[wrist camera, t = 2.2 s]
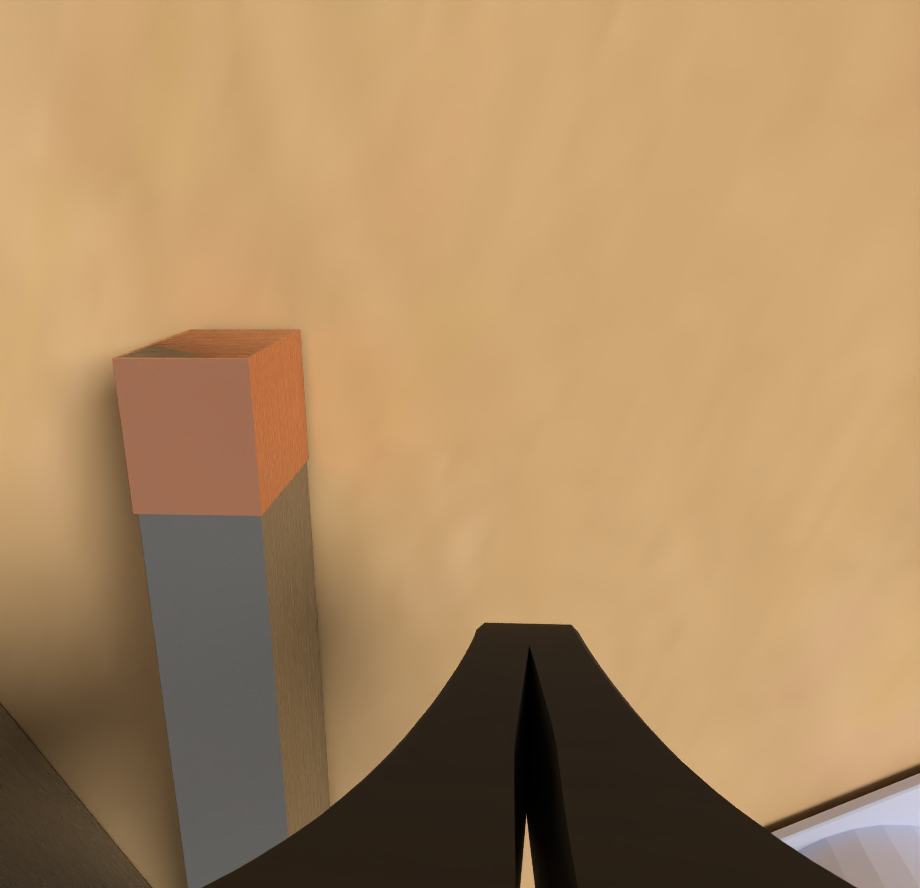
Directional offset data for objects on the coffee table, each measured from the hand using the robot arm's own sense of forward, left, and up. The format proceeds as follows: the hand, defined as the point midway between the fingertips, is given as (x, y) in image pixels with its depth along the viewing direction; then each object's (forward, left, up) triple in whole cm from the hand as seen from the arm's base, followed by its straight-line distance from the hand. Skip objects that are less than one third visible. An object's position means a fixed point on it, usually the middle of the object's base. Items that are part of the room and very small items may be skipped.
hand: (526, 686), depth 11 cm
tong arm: (-2, +9, -8) cm, 12 cm away
